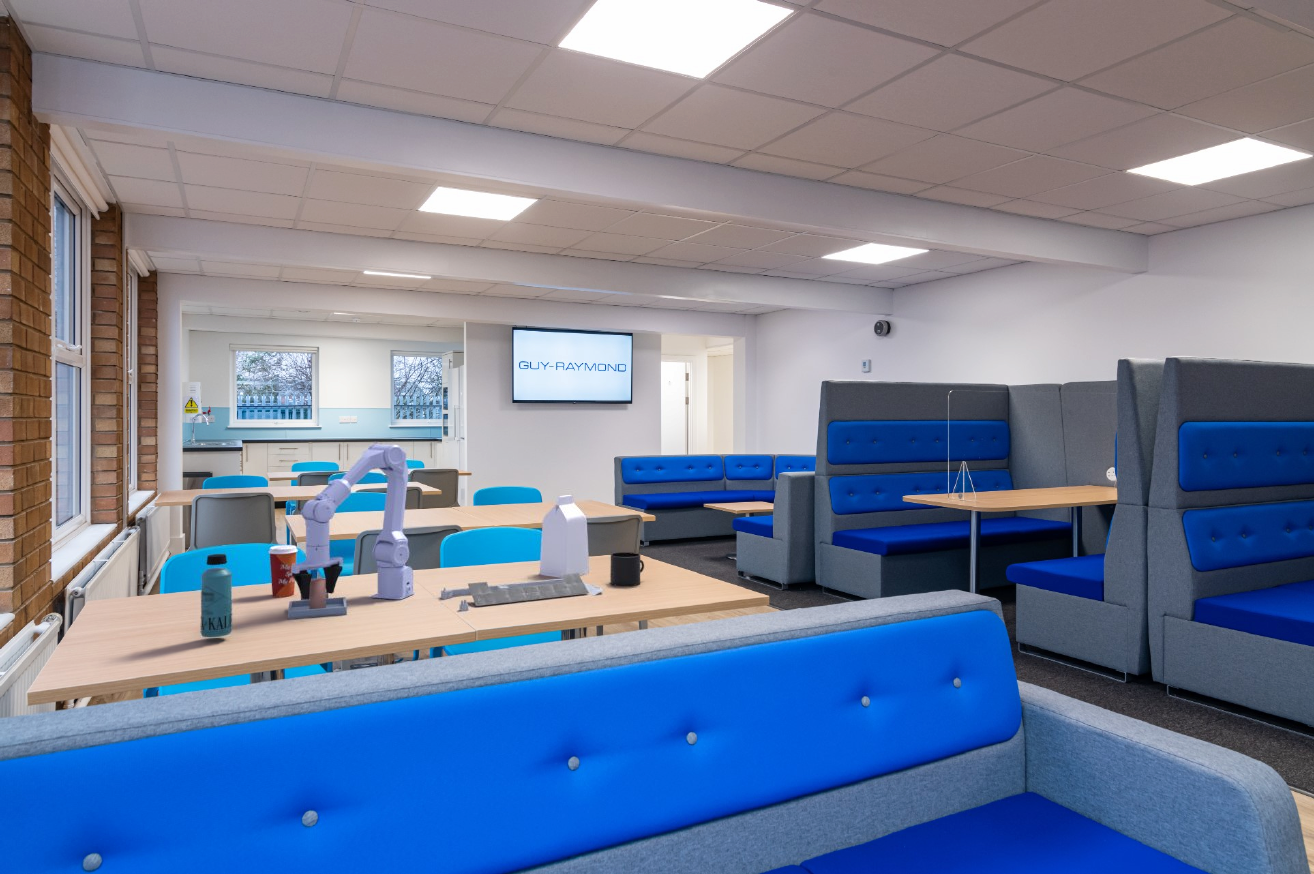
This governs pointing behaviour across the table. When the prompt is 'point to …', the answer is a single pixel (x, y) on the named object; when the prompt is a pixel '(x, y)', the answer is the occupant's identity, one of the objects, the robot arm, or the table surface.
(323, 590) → the peg
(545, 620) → the table surface
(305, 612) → the tray
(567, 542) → the milk
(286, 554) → the paper cup
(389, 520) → the robot arm
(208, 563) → the beverage bottle
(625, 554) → the mug
